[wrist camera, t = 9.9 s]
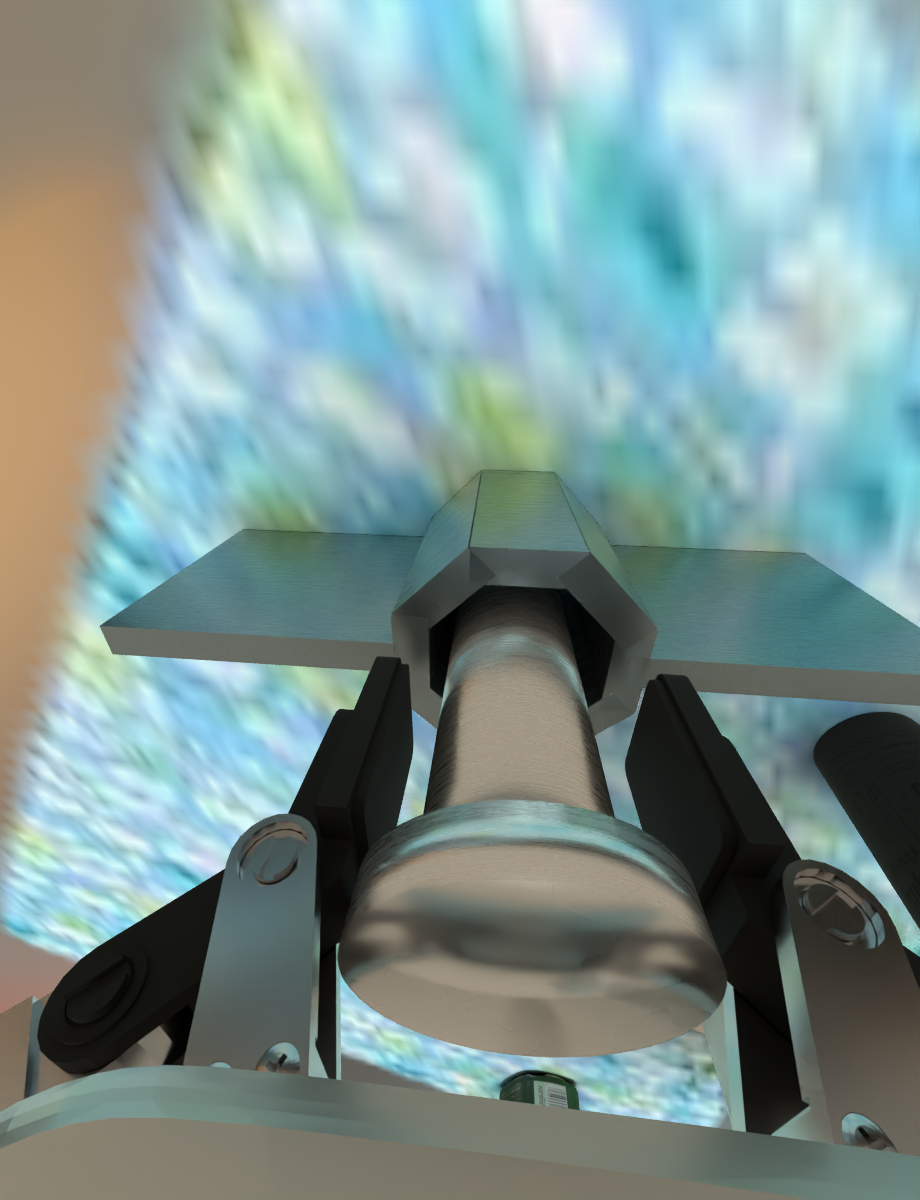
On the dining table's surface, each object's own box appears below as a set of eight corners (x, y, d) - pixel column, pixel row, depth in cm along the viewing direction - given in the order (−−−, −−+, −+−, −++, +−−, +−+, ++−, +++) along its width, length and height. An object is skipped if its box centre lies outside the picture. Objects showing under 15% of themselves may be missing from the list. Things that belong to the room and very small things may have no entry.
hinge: (837, 481, 16) (1083, 573, 10) (771, 633, 20) (916, 783, 13) (226, 461, 18) (53, 528, 11) (261, 605, 21) (146, 726, 14)
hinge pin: (576, 497, 18) (793, 905, 5) (559, 608, 20) (669, 1073, 7) (448, 493, 18) (309, 861, 5) (448, 602, 20) (357, 1036, 7)
